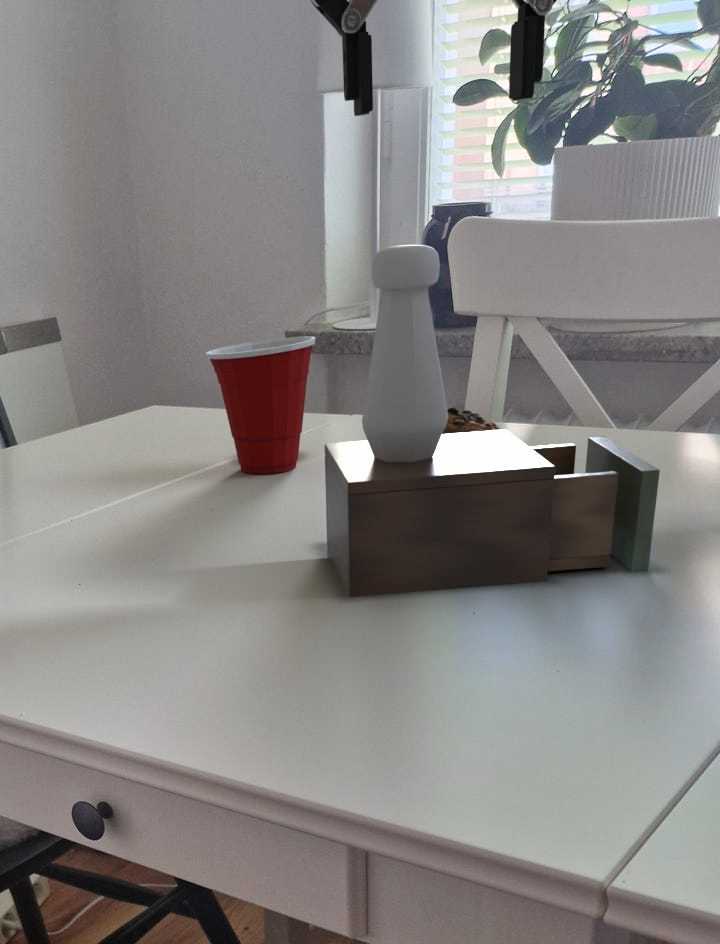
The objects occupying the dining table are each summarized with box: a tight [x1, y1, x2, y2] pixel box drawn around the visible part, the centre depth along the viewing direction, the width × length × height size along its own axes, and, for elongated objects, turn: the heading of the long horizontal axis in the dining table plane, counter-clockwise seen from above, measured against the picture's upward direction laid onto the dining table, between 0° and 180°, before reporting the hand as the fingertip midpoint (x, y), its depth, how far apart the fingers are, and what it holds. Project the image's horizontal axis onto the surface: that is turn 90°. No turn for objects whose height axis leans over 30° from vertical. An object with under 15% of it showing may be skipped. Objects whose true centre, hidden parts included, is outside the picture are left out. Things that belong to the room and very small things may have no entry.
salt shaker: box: [361, 244, 448, 462], centre depth 77 cm, size 6×6×13 cm
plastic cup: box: [205, 335, 316, 475], centre depth 115 cm, size 11×11×12 cm
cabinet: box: [324, 429, 555, 598], centre depth 83 cm, size 14×13×9 cm
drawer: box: [529, 435, 661, 573], centre depth 83 cm, size 14×11×7 cm
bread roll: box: [442, 406, 501, 434], centre depth 119 cm, size 11×11×5 cm
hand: (442, 107), depth 70 cm, fingers open, 9 cm apart
